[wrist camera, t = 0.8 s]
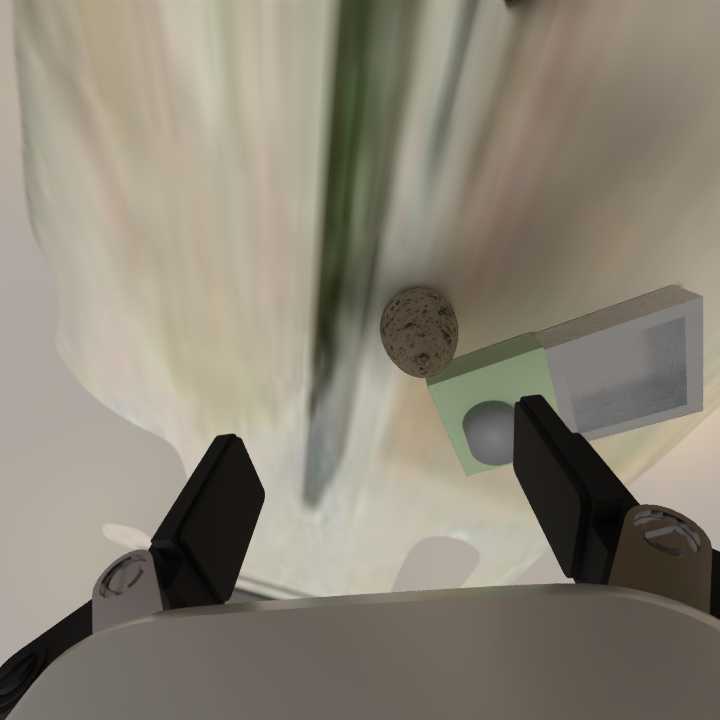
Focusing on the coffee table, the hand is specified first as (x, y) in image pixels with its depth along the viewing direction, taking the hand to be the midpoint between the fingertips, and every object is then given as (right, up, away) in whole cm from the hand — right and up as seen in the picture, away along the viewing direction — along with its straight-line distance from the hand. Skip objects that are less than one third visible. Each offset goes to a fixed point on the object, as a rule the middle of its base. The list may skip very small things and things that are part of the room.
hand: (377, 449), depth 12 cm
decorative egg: (+4, +8, +19) cm, 21 cm away
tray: (+22, +3, +20) cm, 30 cm away
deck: (+13, -1, +23) cm, 26 cm away
